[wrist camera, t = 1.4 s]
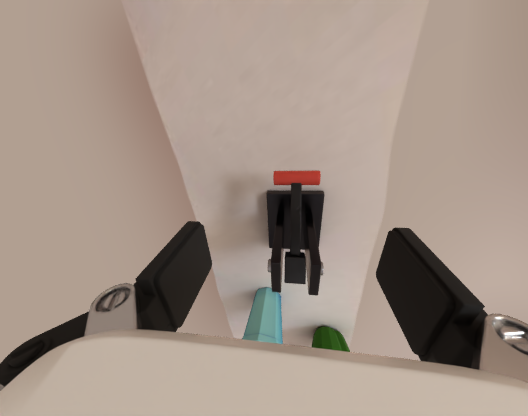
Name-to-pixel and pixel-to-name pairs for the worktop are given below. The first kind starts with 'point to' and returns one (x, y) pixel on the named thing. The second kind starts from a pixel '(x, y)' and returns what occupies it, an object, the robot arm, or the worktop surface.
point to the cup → (265, 318)
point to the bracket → (282, 228)
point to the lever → (296, 221)
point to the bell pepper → (329, 340)
